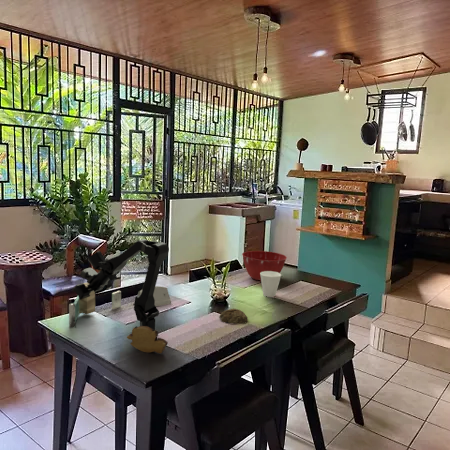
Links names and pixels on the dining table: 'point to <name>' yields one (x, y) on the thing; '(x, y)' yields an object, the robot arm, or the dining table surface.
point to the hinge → (160, 296)
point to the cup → (270, 282)
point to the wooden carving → (147, 340)
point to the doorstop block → (87, 303)
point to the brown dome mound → (233, 316)
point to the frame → (115, 304)
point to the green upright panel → (76, 307)
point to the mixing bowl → (262, 262)
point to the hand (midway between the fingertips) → (84, 297)
